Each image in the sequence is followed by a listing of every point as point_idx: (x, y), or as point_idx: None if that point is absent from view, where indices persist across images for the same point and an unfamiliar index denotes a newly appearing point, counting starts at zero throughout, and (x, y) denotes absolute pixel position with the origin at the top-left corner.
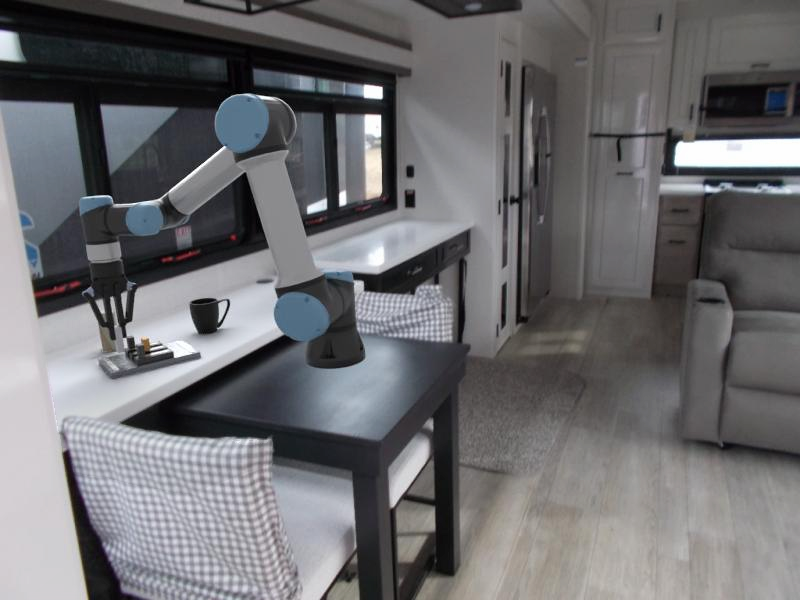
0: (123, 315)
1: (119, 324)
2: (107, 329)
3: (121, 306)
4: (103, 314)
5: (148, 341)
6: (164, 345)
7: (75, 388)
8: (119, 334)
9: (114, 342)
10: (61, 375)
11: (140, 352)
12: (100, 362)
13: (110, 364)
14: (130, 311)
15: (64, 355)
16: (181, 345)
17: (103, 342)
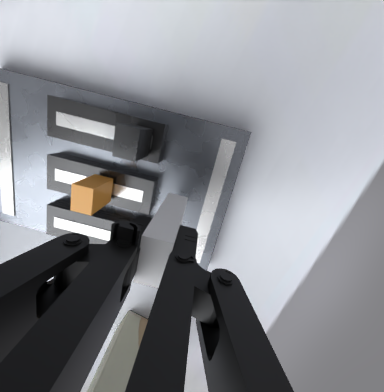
0: (83, 274)
1: (135, 261)
2: (124, 375)
3: (25, 348)
4: None
5: (81, 181)
6: (48, 181)
7: (341, 153)
8: (163, 222)
9: (129, 330)
10: (294, 271)
11: (142, 127)
12: (212, 250)
13: (212, 204)
14: (11, 274)
15: None
16: (10, 176)
17: None
